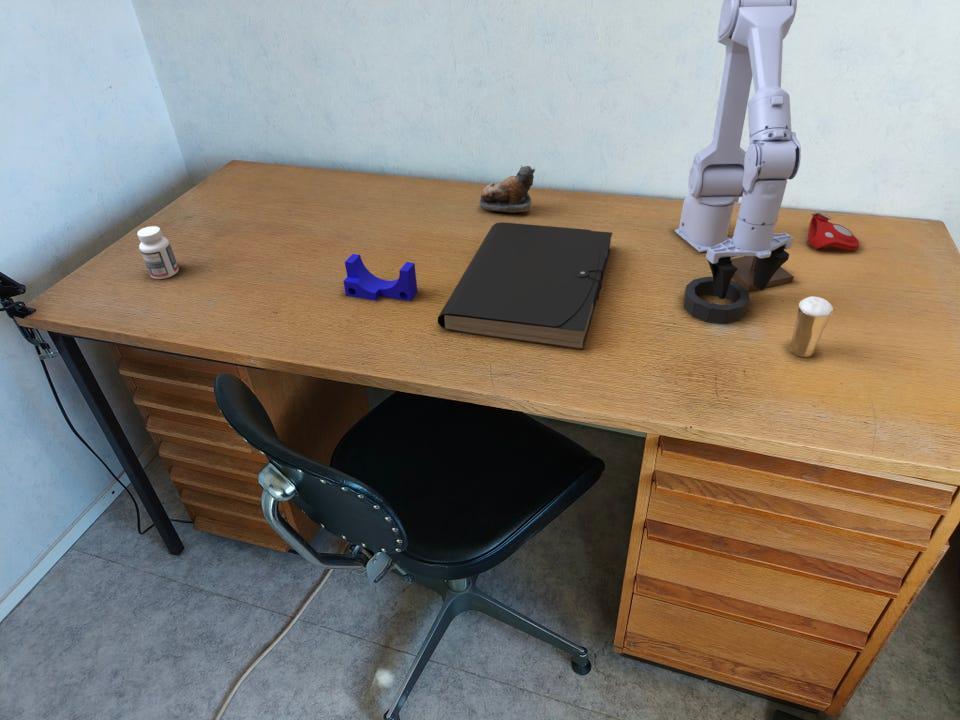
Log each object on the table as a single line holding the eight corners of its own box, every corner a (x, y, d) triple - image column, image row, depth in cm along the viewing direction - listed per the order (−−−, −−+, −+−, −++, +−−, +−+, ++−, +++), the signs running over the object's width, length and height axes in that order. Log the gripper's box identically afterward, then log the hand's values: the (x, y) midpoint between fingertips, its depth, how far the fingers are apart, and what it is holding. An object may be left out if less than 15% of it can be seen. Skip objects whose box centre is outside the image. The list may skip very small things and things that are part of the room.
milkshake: (806, 366, 98) (826, 310, 92) (778, 347, 102) (795, 292, 96) (828, 357, 100) (849, 301, 93) (799, 339, 103) (818, 284, 97)
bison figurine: (475, 214, 141) (474, 169, 135) (484, 200, 147) (483, 156, 140) (530, 219, 139) (531, 174, 132) (537, 205, 144) (538, 160, 138)
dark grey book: (586, 329, 100) (436, 310, 106) (584, 350, 103) (438, 331, 109) (613, 230, 125) (491, 219, 131) (612, 250, 127) (491, 238, 133)
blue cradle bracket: (345, 295, 118) (340, 266, 114) (357, 282, 121) (352, 253, 117) (407, 305, 114) (403, 276, 111) (417, 292, 118) (414, 263, 114)
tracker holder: (872, 240, 125) (845, 244, 119) (856, 259, 128) (830, 263, 122) (822, 204, 131) (795, 206, 126) (808, 223, 134) (781, 225, 128)
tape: (672, 296, 114) (674, 283, 112) (723, 286, 116) (726, 272, 114) (704, 328, 106) (707, 314, 105) (758, 316, 108) (762, 302, 107)
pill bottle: (168, 263, 129) (153, 221, 123) (184, 270, 126) (170, 228, 121) (144, 275, 126) (127, 233, 120) (160, 282, 123) (144, 240, 118)
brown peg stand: (718, 266, 121) (725, 234, 117) (760, 258, 123) (769, 225, 119) (748, 291, 114) (756, 257, 110) (792, 282, 116) (802, 248, 112)
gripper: (731, 236, 98) (714, 312, 106) (814, 220, 101) (791, 295, 109) (705, 216, 103) (691, 290, 112) (784, 202, 106) (764, 275, 115)
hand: (739, 291), depth 111 cm, fingers open, 7 cm apart
